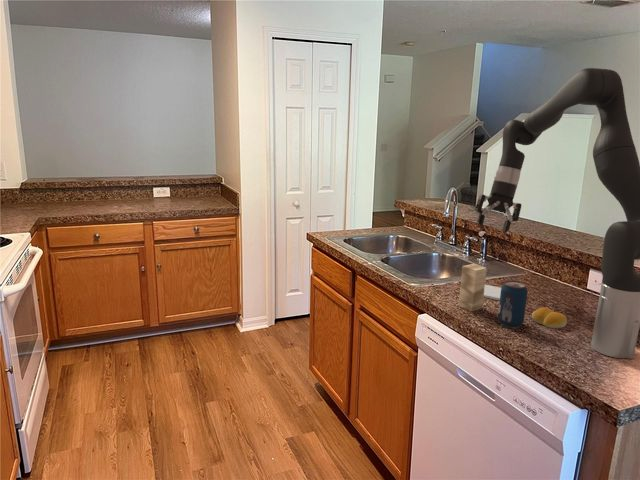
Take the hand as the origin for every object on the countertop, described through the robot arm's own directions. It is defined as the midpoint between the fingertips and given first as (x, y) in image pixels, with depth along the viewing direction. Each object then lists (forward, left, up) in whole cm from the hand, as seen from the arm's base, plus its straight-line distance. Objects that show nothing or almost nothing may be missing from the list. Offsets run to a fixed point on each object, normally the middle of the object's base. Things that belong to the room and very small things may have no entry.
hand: (492, 229), depth 160 cm
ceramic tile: (-2, +4, -21) cm, 21 cm away
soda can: (-14, +27, -21) cm, 37 cm away
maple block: (-1, +21, -21) cm, 30 cm away
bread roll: (-23, +19, -21) cm, 37 cm away
